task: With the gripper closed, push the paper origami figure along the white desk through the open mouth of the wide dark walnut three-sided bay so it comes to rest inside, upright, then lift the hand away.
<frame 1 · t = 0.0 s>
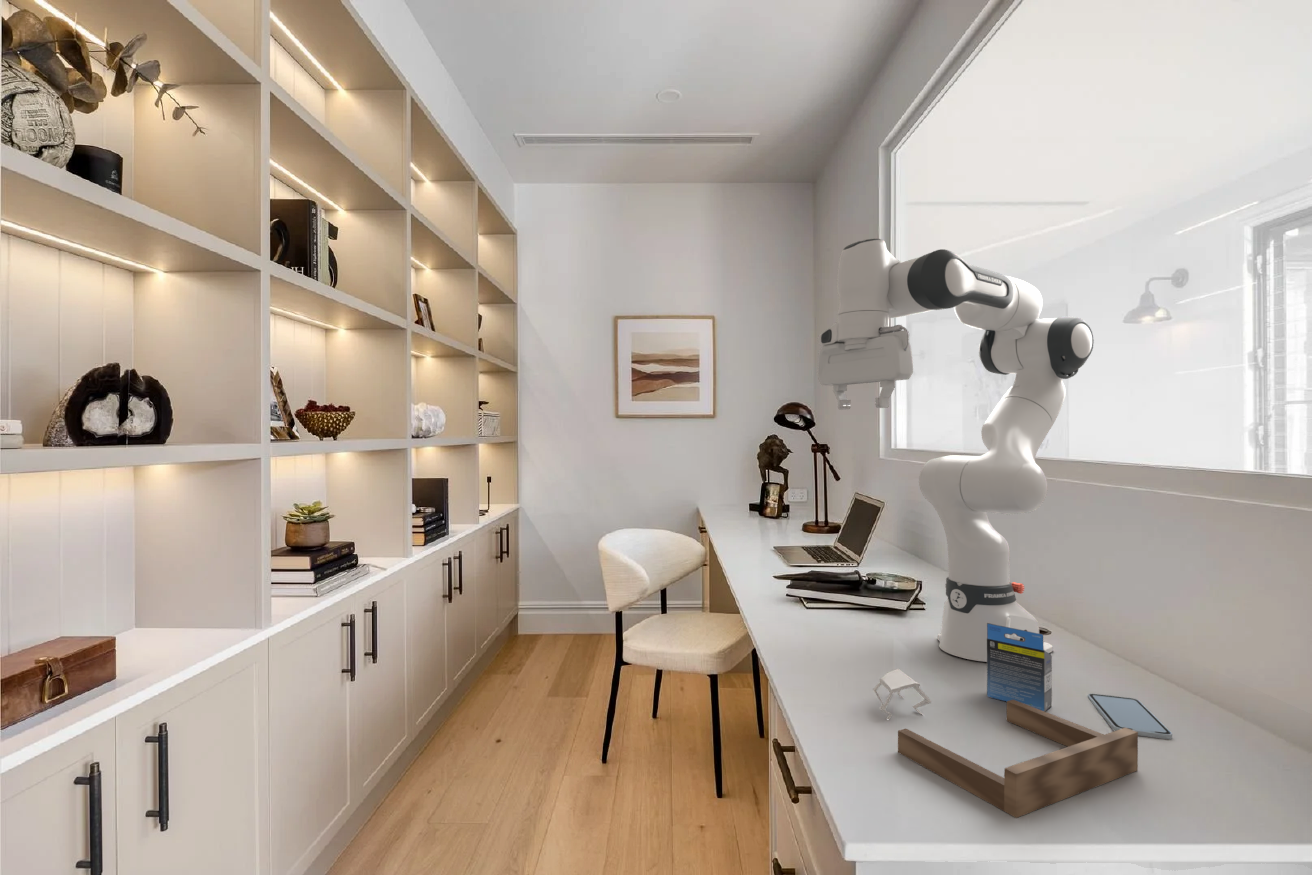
hand: (862, 408, 121), 48 cm above the table, tool pointing down, fingers open, 8 cm apart
walnut bay: (1009, 758, 90), on the table
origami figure: (899, 709, 107), on the table
label tape cartridge: (1018, 703, 110), on the table
smartphone: (1126, 719, 104), on the table
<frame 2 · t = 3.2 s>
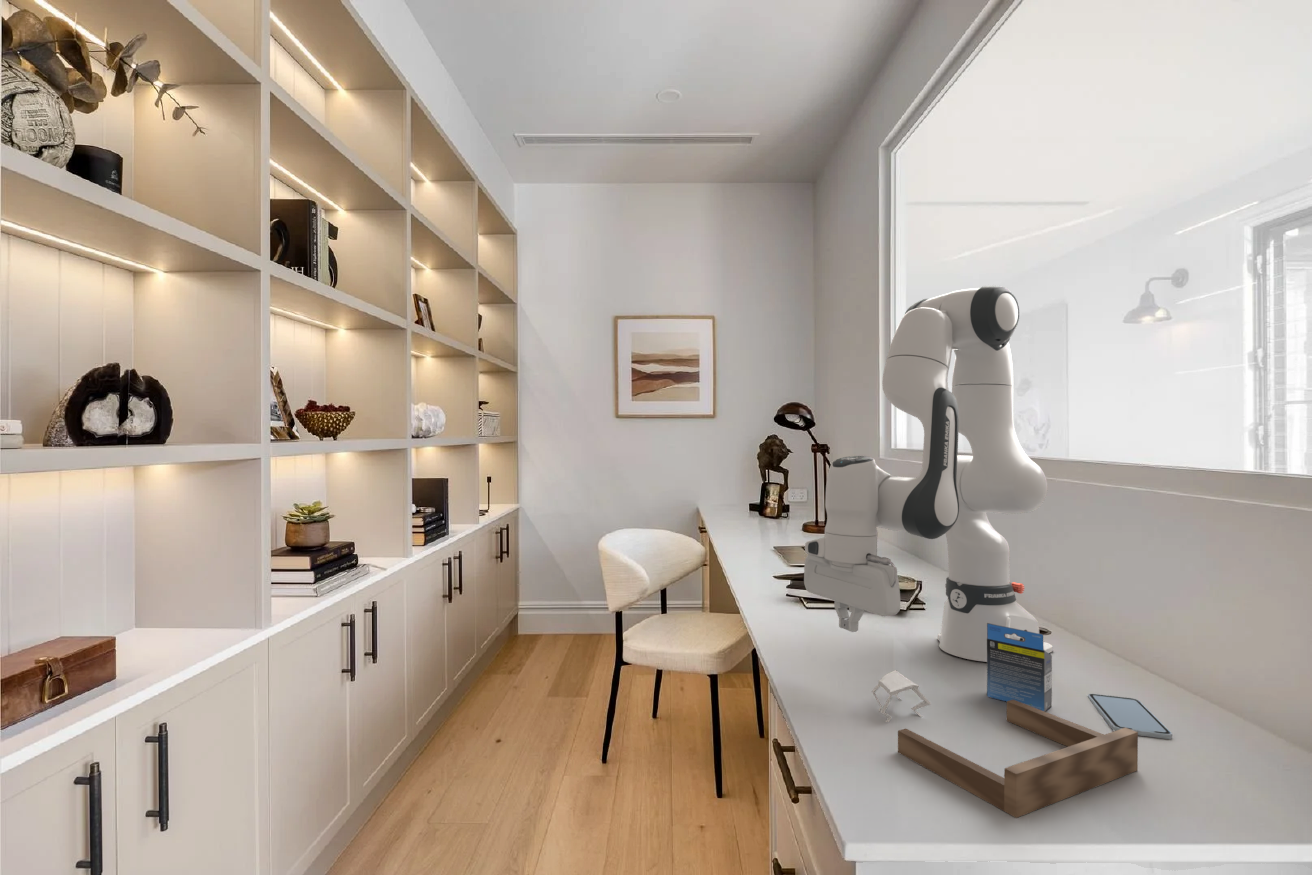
hand: (848, 629, 117), 10 cm above the table, tool pointing down, fingers closed
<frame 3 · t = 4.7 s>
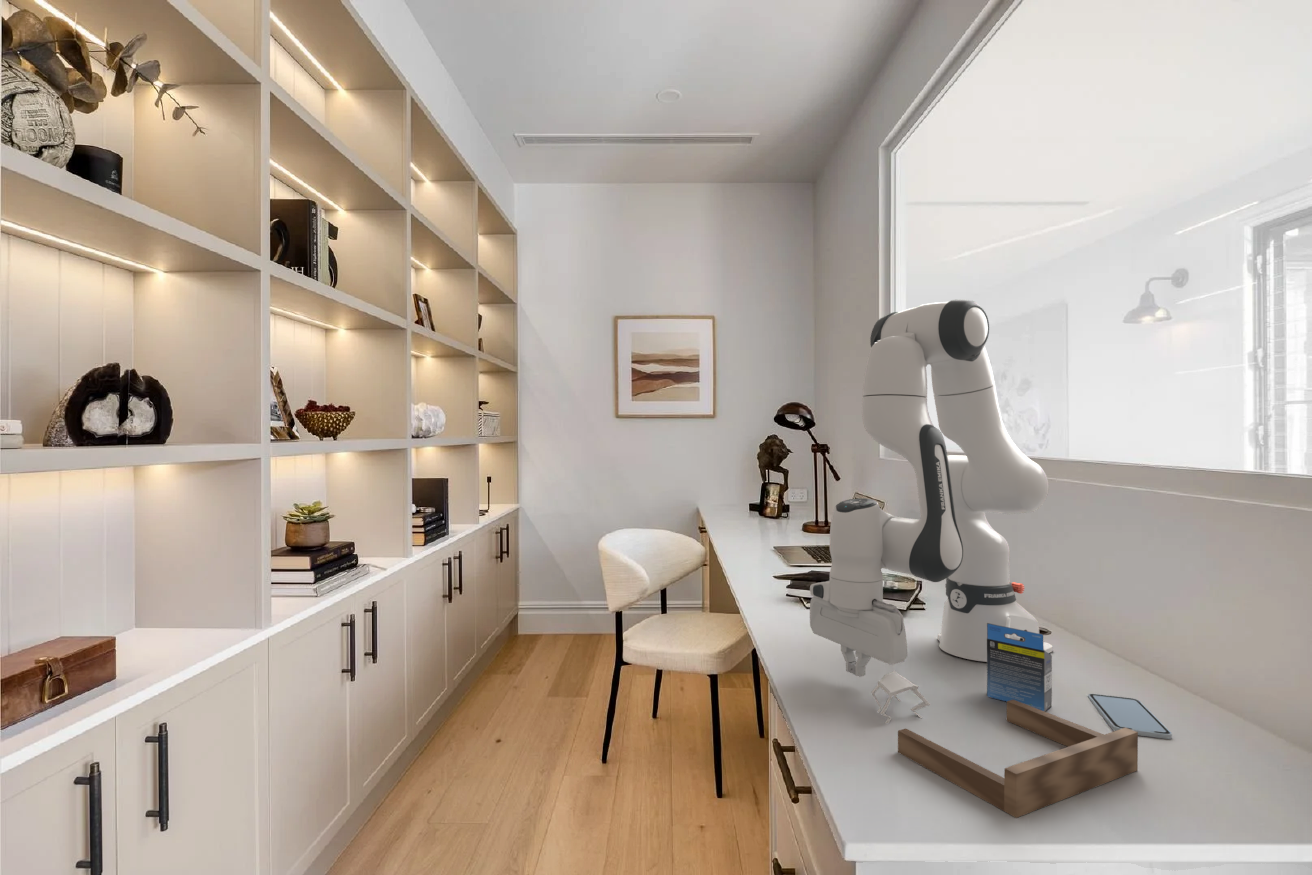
hand: (855, 673, 116), 2 cm above the table, tool pointing down, fingers closed
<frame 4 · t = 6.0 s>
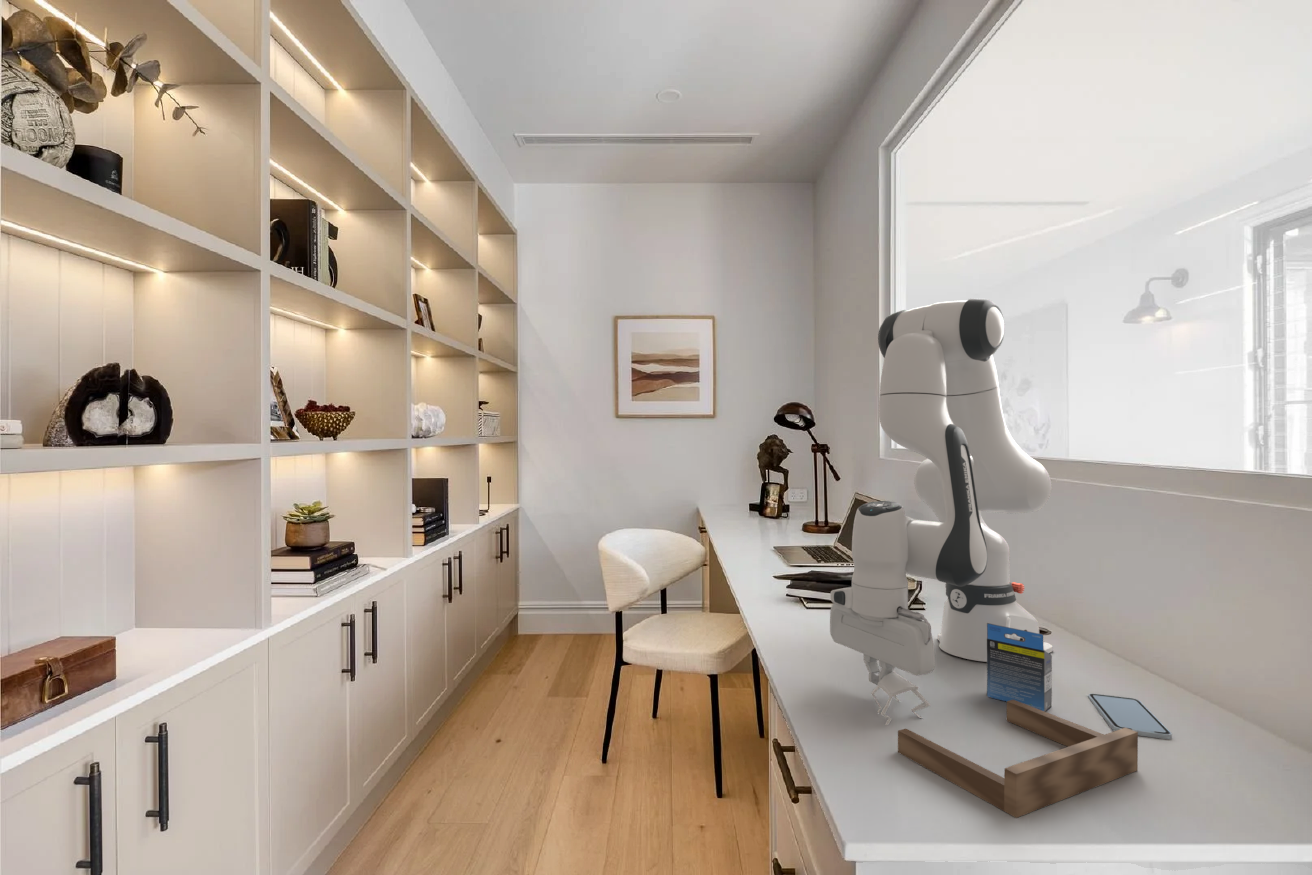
hand: (879, 684, 111), 2 cm above the table, tool pointing down, fingers closed
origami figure: (897, 712, 106), on the table, touching gripper
everything else where it was.
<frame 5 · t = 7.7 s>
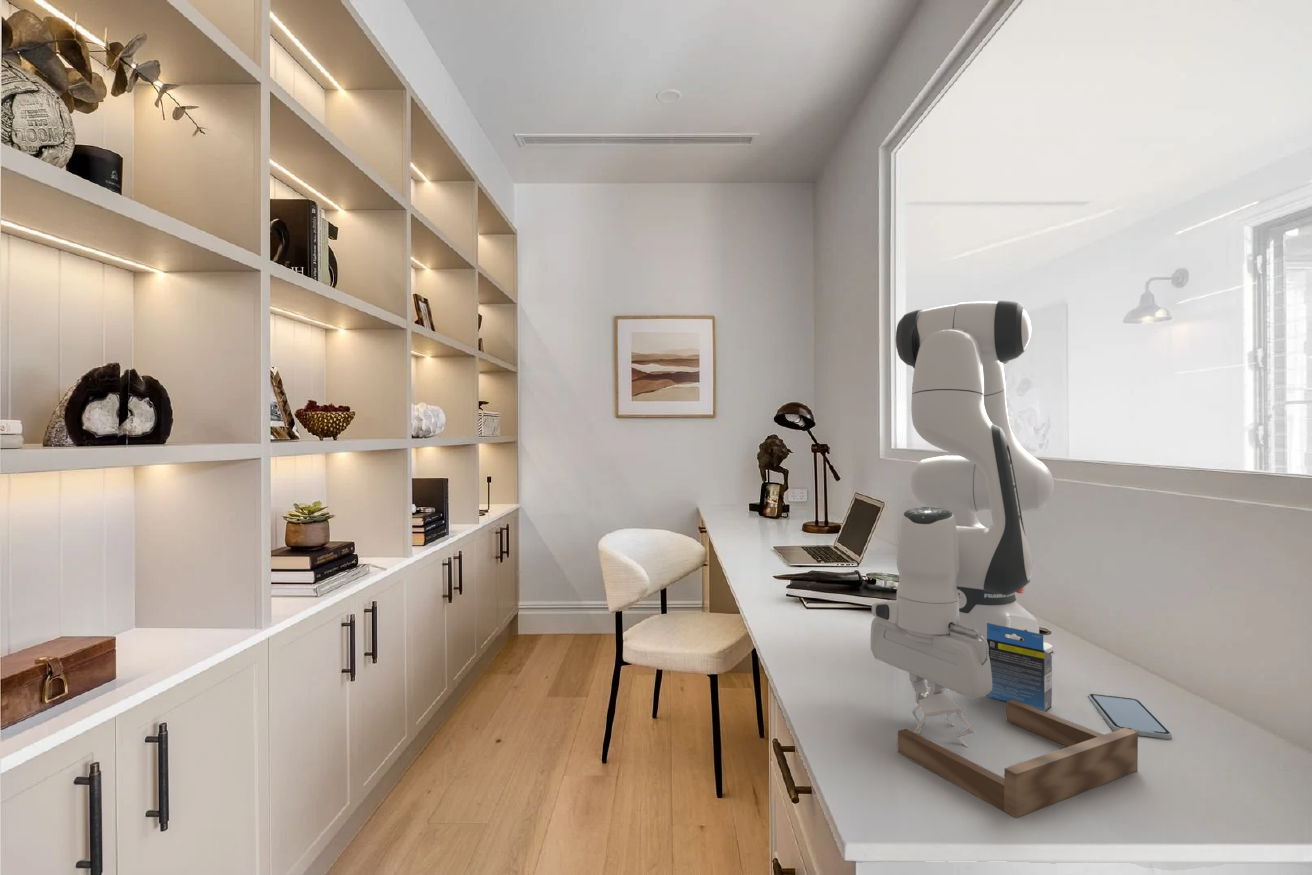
hand: (926, 706, 103), 2 cm above the table, tool pointing down, fingers closed
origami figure: (942, 736, 98), on the table, touching gripper
everything else where it was.
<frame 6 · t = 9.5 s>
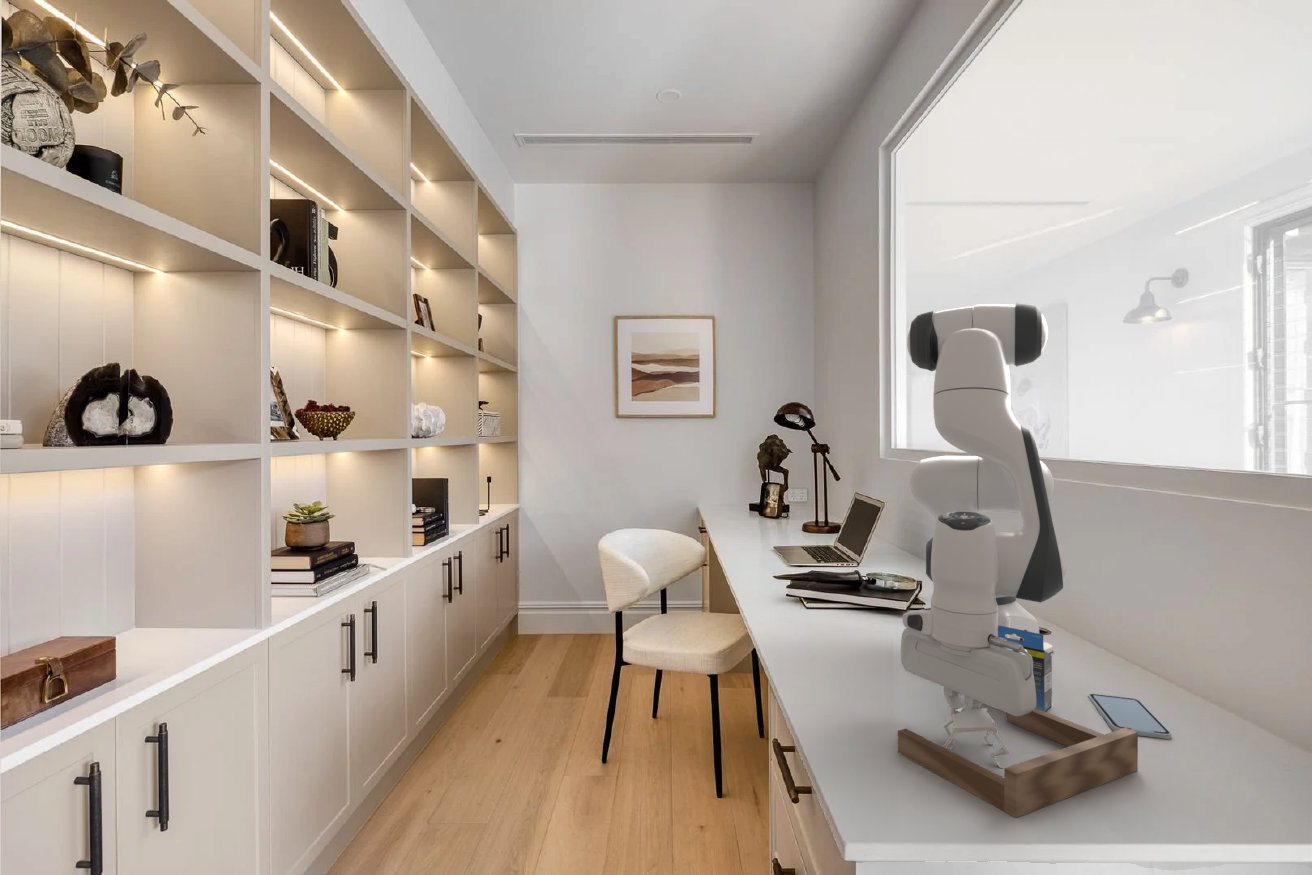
hand: (963, 722, 97), 2 cm above the table, tool pointing down, fingers closed
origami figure: (976, 754, 92), on the table, touching gripper
everything else where it was.
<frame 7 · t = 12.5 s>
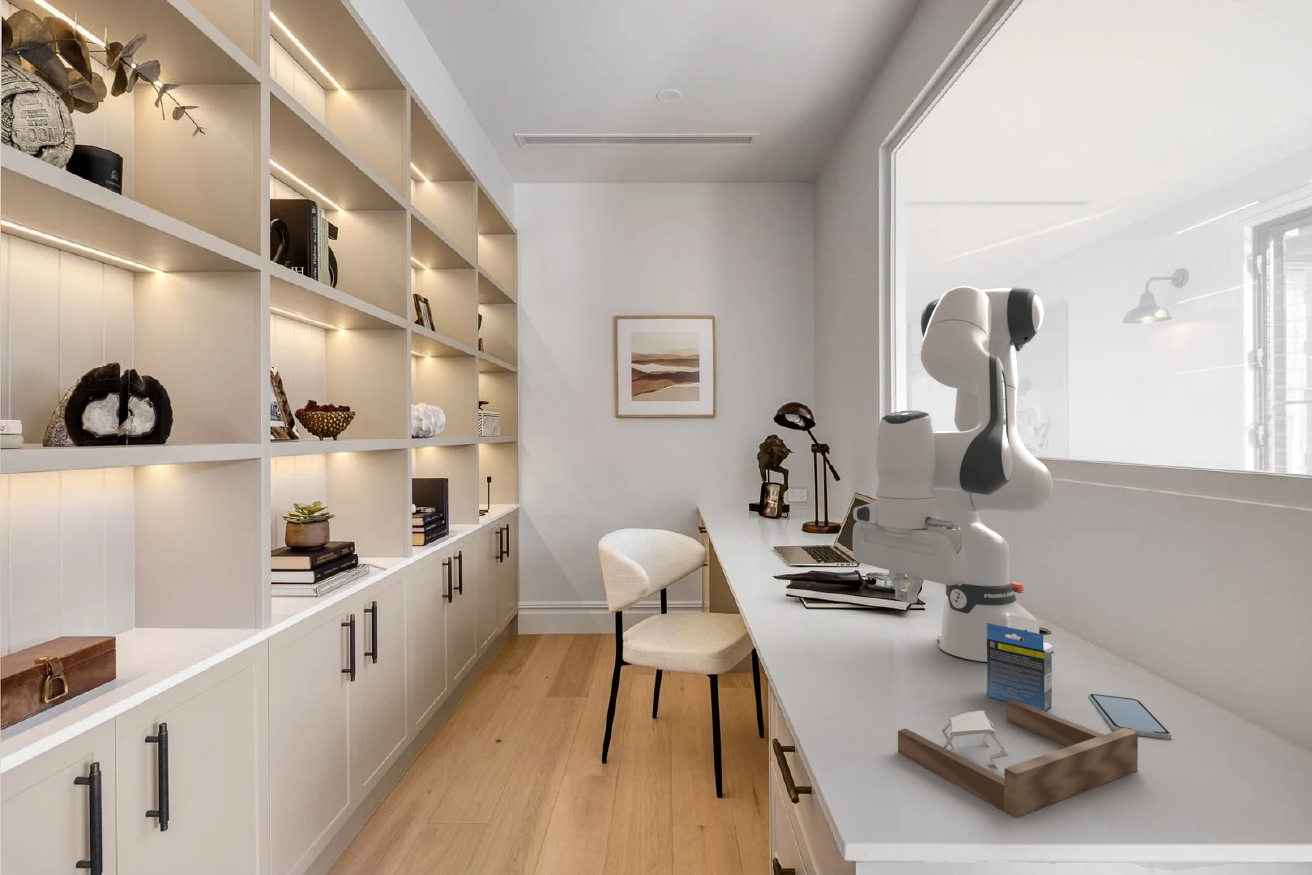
hand: (906, 601, 107), 17 cm above the table, tool pointing down, fingers closed
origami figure: (975, 757, 91), on the table
everything else where it was.
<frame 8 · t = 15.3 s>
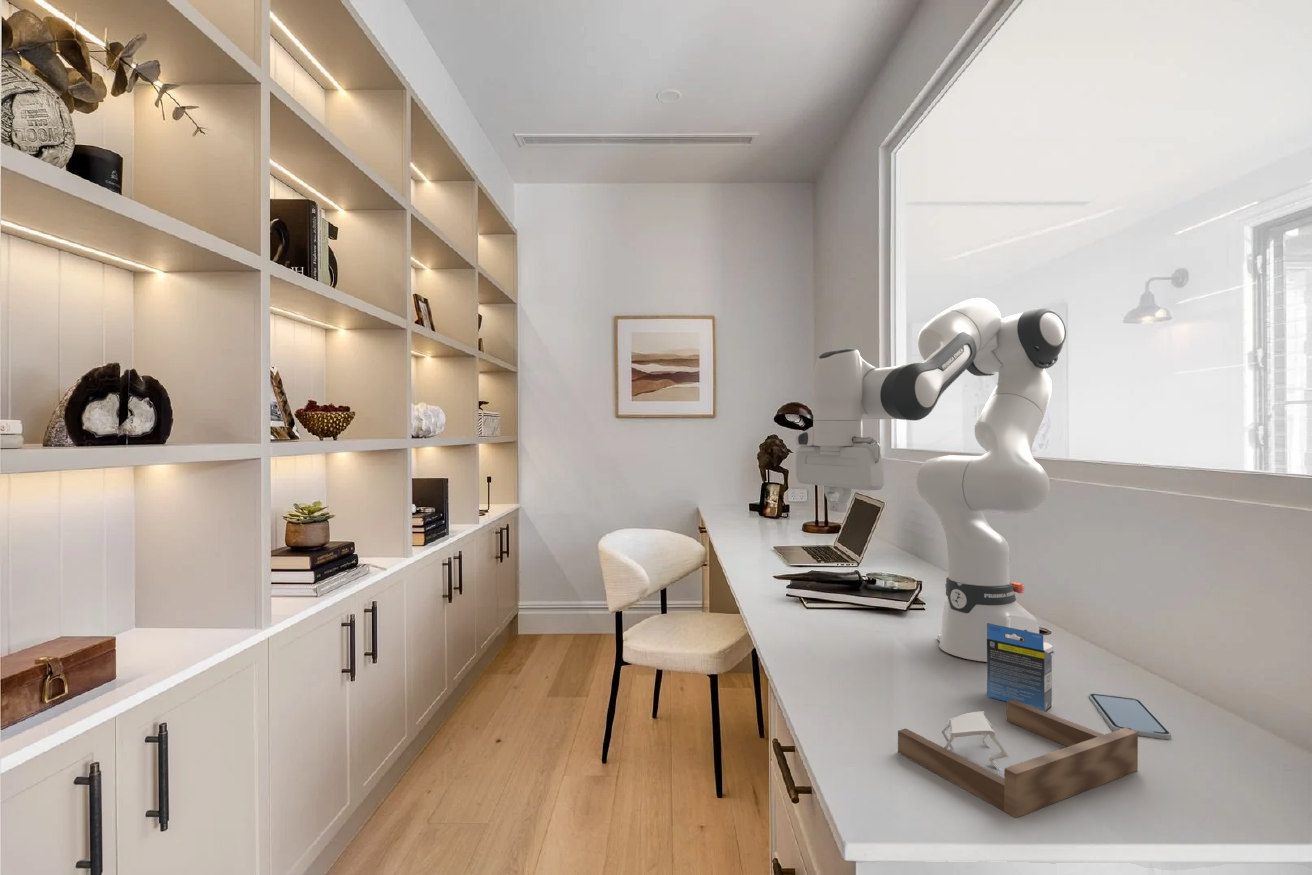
hand: (837, 511, 125), 29 cm above the table, tool pointing down, fingers closed
nothing on the table moved.
at the end: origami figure inside the target area on the walnut bay (4.6 cm from its centre), point 0.0 cm above the walnut bay's base; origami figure tilted 0°; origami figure moved 16.9 cm from its start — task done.
